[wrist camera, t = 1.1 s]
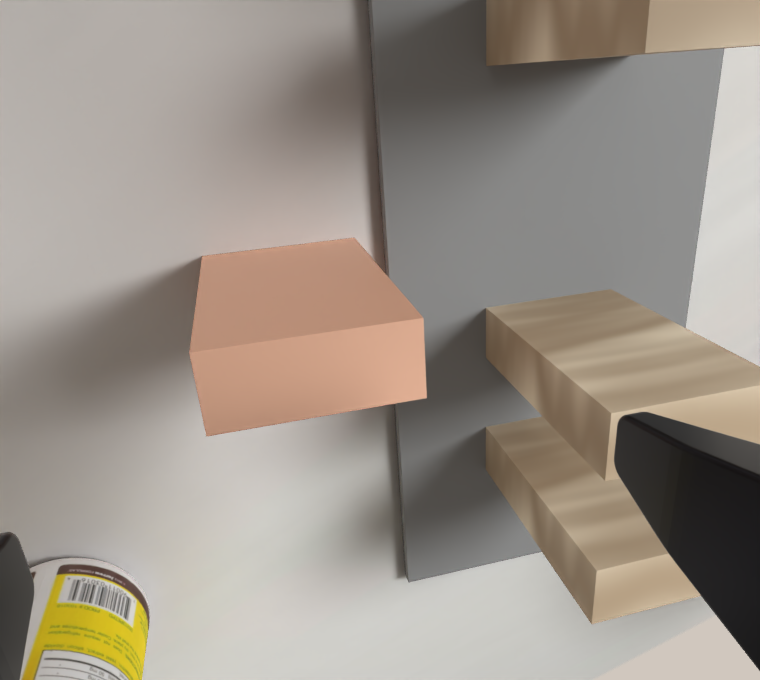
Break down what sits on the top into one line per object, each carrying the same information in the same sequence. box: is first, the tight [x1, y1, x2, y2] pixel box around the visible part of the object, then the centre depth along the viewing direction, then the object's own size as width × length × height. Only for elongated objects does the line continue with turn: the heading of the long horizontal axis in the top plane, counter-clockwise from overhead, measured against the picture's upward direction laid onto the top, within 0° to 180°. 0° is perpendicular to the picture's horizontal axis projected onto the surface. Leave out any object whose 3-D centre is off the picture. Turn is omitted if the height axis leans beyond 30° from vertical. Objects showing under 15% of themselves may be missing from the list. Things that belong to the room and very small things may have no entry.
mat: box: [368, 0, 724, 582], centre depth 21 cm, size 12×32×1 cm, turn 4°
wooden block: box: [486, 416, 701, 624], centre depth 21 cm, size 2×5×8 cm, turn 94°
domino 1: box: [189, 238, 427, 436], centre depth 17 cm, size 2×5×8 cm, turn 94°
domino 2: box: [486, 0, 760, 66], centre depth 16 cm, size 2×5×8 cm, turn 94°
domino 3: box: [486, 289, 760, 481], centre depth 19 cm, size 2×5×8 cm, turn 94°
